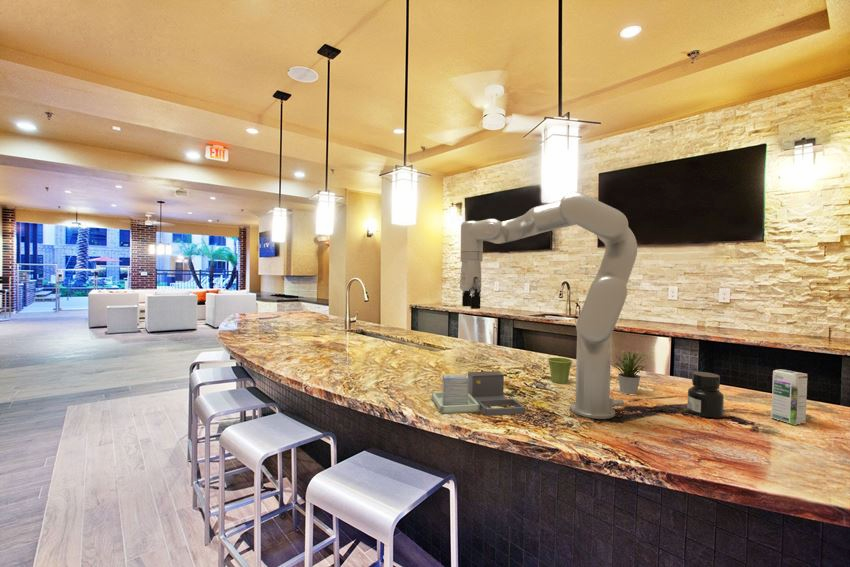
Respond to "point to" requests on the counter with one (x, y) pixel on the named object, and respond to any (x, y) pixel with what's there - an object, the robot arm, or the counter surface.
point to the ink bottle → (705, 395)
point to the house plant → (629, 372)
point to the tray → (447, 409)
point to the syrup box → (789, 396)
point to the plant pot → (559, 369)
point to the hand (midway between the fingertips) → (470, 307)
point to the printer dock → (491, 393)
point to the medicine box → (455, 390)
